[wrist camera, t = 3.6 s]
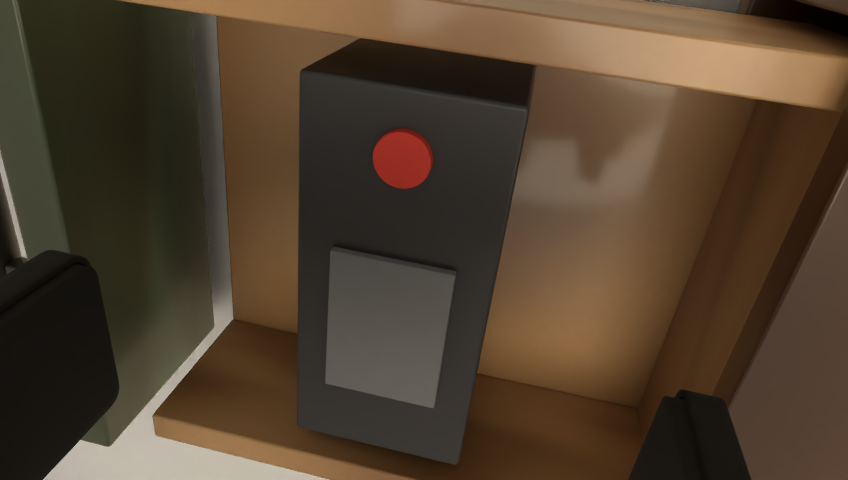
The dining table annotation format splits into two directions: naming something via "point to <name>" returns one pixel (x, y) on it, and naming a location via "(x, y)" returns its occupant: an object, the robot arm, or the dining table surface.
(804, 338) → the cabinet
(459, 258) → the red button box
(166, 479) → the dining table surface
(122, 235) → the drawer
